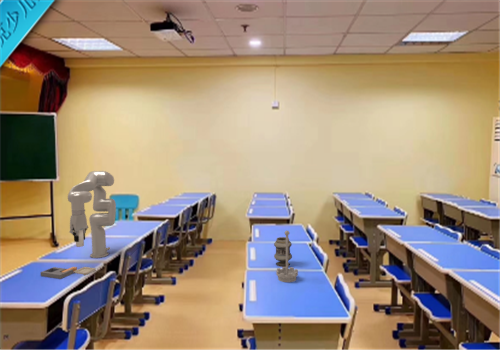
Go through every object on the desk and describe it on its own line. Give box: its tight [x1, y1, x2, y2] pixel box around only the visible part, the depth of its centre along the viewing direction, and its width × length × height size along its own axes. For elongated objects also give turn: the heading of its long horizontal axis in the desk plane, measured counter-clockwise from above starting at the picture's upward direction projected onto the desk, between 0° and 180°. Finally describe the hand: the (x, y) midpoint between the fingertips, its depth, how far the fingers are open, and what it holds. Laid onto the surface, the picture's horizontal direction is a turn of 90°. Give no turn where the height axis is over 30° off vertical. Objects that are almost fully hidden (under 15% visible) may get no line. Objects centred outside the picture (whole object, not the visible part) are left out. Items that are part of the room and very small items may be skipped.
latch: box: [62, 266, 78, 273], centre depth 239 cm, size 10×3×2 cm, turn 160°
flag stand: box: [275, 230, 299, 283], centre depth 225 cm, size 13×13×30 cm
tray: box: [73, 266, 96, 276], centre depth 241 cm, size 9×9×2 cm
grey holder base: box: [40, 266, 74, 280], centre depth 235 cm, size 10×16×3 cm, turn 70°
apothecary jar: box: [273, 236, 293, 268], centre depth 252 cm, size 12×12×18 cm
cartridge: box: [75, 228, 85, 248], centre depth 239 cm, size 5×5×12 cm
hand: (79, 240), depth 239 cm, fingers closed on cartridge, 4 cm apart
